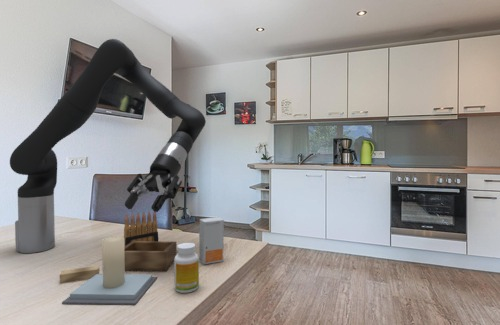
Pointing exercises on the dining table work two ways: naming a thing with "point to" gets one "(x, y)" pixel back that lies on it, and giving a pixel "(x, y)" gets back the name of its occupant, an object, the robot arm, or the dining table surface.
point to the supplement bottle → (186, 268)
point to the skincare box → (211, 240)
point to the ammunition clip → (140, 229)
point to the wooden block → (78, 274)
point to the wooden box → (149, 255)
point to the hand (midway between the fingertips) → (140, 208)
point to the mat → (110, 301)
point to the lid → (112, 276)
